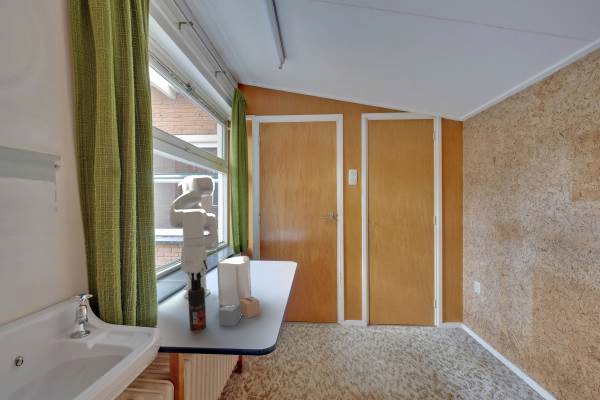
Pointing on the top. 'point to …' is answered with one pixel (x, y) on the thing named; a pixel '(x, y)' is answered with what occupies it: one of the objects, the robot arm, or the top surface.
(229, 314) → the slate block marked
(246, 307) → the terracotta block marked
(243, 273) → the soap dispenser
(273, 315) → the top surface
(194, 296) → the deodorant
